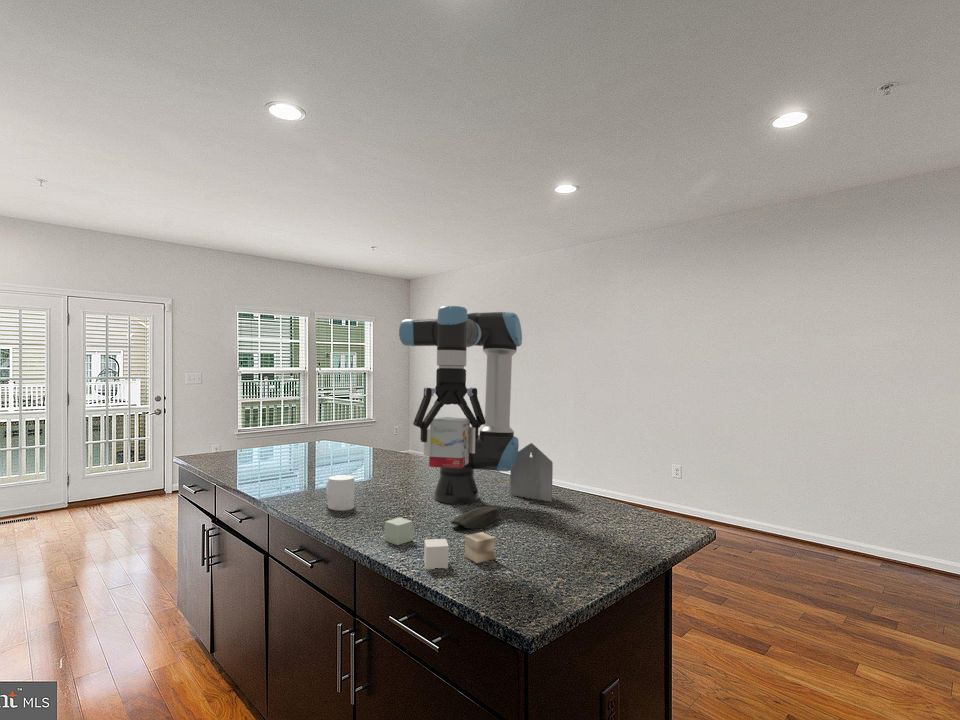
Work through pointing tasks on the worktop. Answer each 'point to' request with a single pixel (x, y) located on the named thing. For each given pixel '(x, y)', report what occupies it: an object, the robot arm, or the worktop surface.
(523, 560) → the worktop surface
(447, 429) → the ink box
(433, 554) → the off-white cube
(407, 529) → the sage cube
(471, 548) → the maple cube
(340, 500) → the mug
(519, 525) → the worktop surface
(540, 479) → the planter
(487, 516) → the decorative stone
